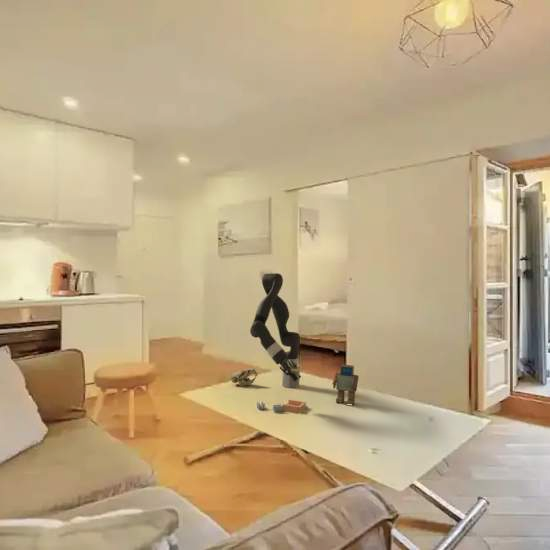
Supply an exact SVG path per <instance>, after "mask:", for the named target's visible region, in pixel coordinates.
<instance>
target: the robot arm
mask: <svg viewBox="0 0 550 550" xmlns="http://www.w3.org/2000/svg"><path fill="white" fill-rule="evenodd" d="M283 283H284V279H283V275H282V274H280V273H275V272H274V273H264V274H263V275H262V276H261V284H262V287H263V289H264V292H265V294H266V296H265V297H264V298H263V299H261V301H260V302H259V305H258V306H257V310H256V313H255V316H254V319H253V322H252V324H251V326H250V329H249V333H250V335H251V336H252V337H253V338H259V340H260V344H261V346H262V347H263V348H264V349H265V351H266V352H267V354H268V355H269V357H270V358H271V359H272V361H274V363H275V364H276V365H280V366H279V370H281V372H282V380H281V381H282V384H281V385H282V387H284V388H290V387H289V378H290V376H291V377H292V379H293V380H294V381H296V380H298V378H297V376H296V375H295V374H294V373H293V371H292V370H291V366H293V364H297V366H298V367H299V355H300V342H301V337H300V334H299V333H298V332H295V331H289V330H288V329H287V324H288V321H289V318H290V311H289V307H288V305H287V303H286V302H285V301H284V300H283V298H281V297H280V296H279V295H278V294H279V293H280V291H281V289H282V286H283ZM271 310H272V313H273V317H274V319H275V324H276V325H277V329H278V334H279V339H280V343H281V344H282V346H284V347H289V348H290V349H289V351H285V350H284V349H283V347H282V346H281V345H280V344H279V343H278V342H277V340H276V339H275V338H274V337H273V336H272V334H271V332H270V331H269V329H268V327H267V326H266V323H267V320H268V318H269V316H270V313H271ZM301 377H302V376H301V375H300V376H299V379H300V378H301Z"/></svg>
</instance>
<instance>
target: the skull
mask: <svg viewBox="0 0 550 550" xmlns="http://www.w3.org/2000/svg"><path fill="white" fill-rule="evenodd" d="M252 374H253V375H254V377H253V378H252V379H250V377H249V376H251V375H252ZM257 377H258V373H257V371H256V370H255V368H245V369H241V370H238V371H236V372H234V373H232V374H231V376H230V380H232V381H231V382H232V383H233V384H236V385H237V386H240V387H244V386H245V385H248V386H250V385H252V384H253V383H254V382H255V380H256V378H257ZM245 387H246V386H245Z"/></svg>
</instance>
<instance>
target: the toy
mask: <svg viewBox="0 0 550 550" xmlns="http://www.w3.org/2000/svg"><path fill="white" fill-rule="evenodd" d="M354 372H355V366H354V365H350V364H342V365H340V372H335V375H334V378H333V381H332V385H333V387H332V388H333V389H336V390H337V397H336V399H335V403H336V402H339V403H338V404H341V403H342V402H343V403H344V402H345V392H347V400H346V403H345V404H353V403H354V402H355V403H356V392H357V389H358V383H359V375H358V374H354ZM343 403H342V404H343ZM355 403H354V404H355Z"/></svg>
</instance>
